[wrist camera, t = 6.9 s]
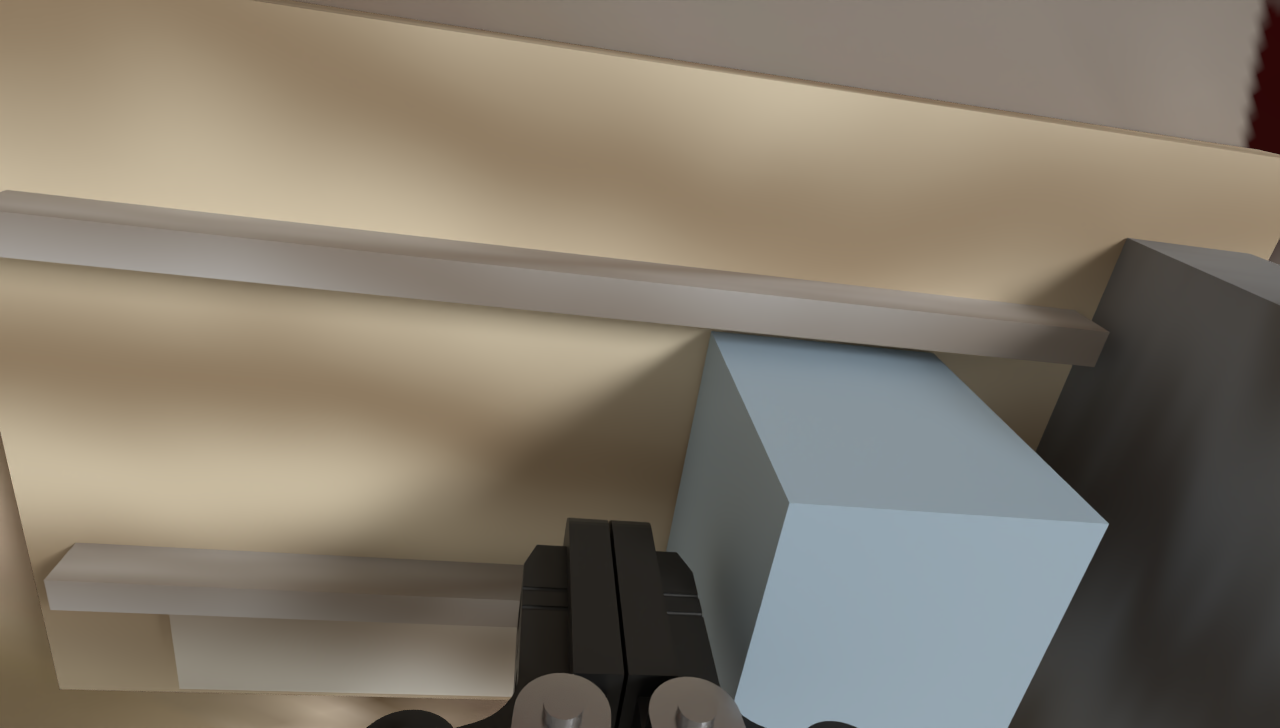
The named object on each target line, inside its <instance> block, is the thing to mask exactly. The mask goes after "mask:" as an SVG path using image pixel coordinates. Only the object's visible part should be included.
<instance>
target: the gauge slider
mask: <svg viewBox="0 0 1280 728" xmlns="http://www.w3.org/2000/svg"><path fill="white" fill-rule="evenodd" d="M1108 525H1109V523H1108V522H1107V521H1106V520H1105V519H1104V518H1102V517H1101V516H1100V515H1099V514H1098V513H1097V512H1096V511H1095V510H1094V509H1093V508H1092V507H1091V506H1090V505H1089V504H1088V503H1087V502H1086V501H1085V500H1084V499H1083V498H1082V497H1081V496H1080V495H1079V494H1078V493H1077V492H1076V491H1075V490H1074V489H1073V488H1072V487H1071V486H1070V485H1069V484H1067V483H1066V482H1065V481H1064V480H1063V479H1062V478H1061V477H1060V476H1059V475H1058V474H1057V473H1056V472H1055V471H1054V470H1053V469H1052V468H1051V467H1050V466H1049V465H1048V464H1047V463H1046V462H1045V461H1044V460H1043V459H1042V458H1041V457H1040V456H1039V455H1038V454H1037V453H1036V452H1035V451H1034V450H1032V449H1031V448H1030V447H1029V446H1028V445H1027V444H1026V443H1025V442H1024V441H1023V440H1022V439H1021V438H1020V437H1019V436H1018V435H1017V434H1016V433H1015V432H1014V431H1013V430H1012V429H1011V428H1010V427H1009V426H1008V425H1007V424H1006V423H1005V422H1004V421H1003V420H1002V419H1001V418H1000V417H999V416H997V415H996V414H995V413H994V412H993V411H992V410H991V409H990V408H989V407H988V406H987V405H986V404H985V403H984V402H983V401H982V400H981V399H980V398H979V397H978V396H977V395H976V394H975V393H974V392H973V391H972V390H971V389H970V388H969V387H968V386H967V385H966V384H965V383H964V382H963V381H961V380H960V379H959V378H958V377H957V376H956V375H955V374H954V373H953V372H952V371H951V370H950V369H949V368H948V367H947V366H946V365H945V364H944V363H943V362H942V361H941V360H940V359H939V358H938V357H937V356H936V355H935V354H934V353H926V352H916V351H906V350H896V349H886V348H876V347H866V346H856V345H846V344H836V343H826V342H816V341H806V340H796V339H786V338H776V337H766V336H756V335H746V334H736V333H726V332H716V331H711V334H710V339H709V344H708V349H707V354H706V359H705V364H704V369H703V373H702V378H701V383H700V388H699V393H698V398H697V403H696V408H695V413H694V417H693V422H692V427H691V432H690V437H689V442H688V447H687V452H686V456H685V461H684V466H683V471H682V476H681V481H680V486H679V491H678V496H677V500H676V505H675V510H674V515H673V520H672V525H671V530H670V535H669V539H668V544H667V549H666V552H677V553H678V554H679V555H680V557H681V558H682V559H683V561H684V562H685V563H686V564H687V566H688V567H689V568H690V569H691V571H692V572H693V575H694V579H695V584H696V588H697V592H698V599H699V600H700V605H701V609H702V617H704V621H705V625H706V630H707V634H708V638H709V642H710V646H711V650H712V655H713V659H714V663H715V667H716V671H717V675H718V680H719V683H720V686H721V688H722V689H723V690H724V691H726V692H727V693H728V694H729V695H730V696H731V697H732V699H733V700H734V701H735V703H736V704H737V706H738V708H739V710H740V712H741V714H742V715H743V716H744V717H746V718H747V719H749V720H750V721H752V722H754V723H756V724H758V725H760V726H763V727H765V728H808V727H810V726H811V725H813V724H815V723H818V722H823V721H838V722H843V723H847V724H850V725H852V726H855V727H857V728H1008V726H1009V724H1010V722H1011V720H1012V718H1013V716H1014V714H1015V712H1016V710H1017V708H1018V706H1019V704H1020V702H1021V700H1022V698H1023V696H1024V694H1025V692H1026V690H1027V688H1028V686H1029V684H1030V682H1031V680H1032V678H1033V676H1034V674H1035V672H1036V670H1037V668H1038V666H1039V664H1040V662H1041V660H1042V658H1043V656H1044V654H1045V652H1046V650H1047V648H1048V646H1049V644H1050V642H1051V640H1052V638H1053V636H1054V634H1055V632H1056V630H1057V628H1058V626H1059V624H1060V622H1061V620H1062V618H1063V616H1064V614H1065V612H1066V610H1067V608H1068V606H1069V604H1070V602H1071V600H1072V598H1073V596H1074V594H1075V591H1076V589H1077V587H1078V585H1079V583H1080V581H1081V579H1082V577H1083V575H1084V573H1085V571H1086V569H1087V567H1088V565H1089V563H1090V561H1091V559H1092V557H1093V555H1094V553H1095V551H1096V549H1097V547H1098V545H1099V543H1100V541H1101V539H1102V537H1103V535H1104V533H1105V531H1106V529H1107V527H1108Z"/></svg>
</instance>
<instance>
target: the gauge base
mask: <svg viewBox="0 0 1280 728" xmlns="http://www.w3.org/2000/svg"><path fill="white" fill-rule="evenodd" d="M1279 238H1280V155H1278V154H1274V153H1270V152H1265V151H1261V150H1256V149H1250V148H1243V147H1237V146H1230V145H1224V144H1217V143H1211V142H1204V141H1198V140H1191V139H1185V138H1178V137H1172V136H1165V135H1159V134H1152V133H1146V132H1139V131H1133V130H1126V129H1120V128H1113V127H1107V126H1101V125H1094V124H1088V123H1081V122H1075V121H1068V120H1062V119H1055V118H1049V117H1042V116H1036V115H1029V114H1023V113H1016V112H1010V111H1003V110H997V109H990V108H984V107H977V106H971V105H965V104H958V103H952V102H945V101H939V100H932V99H926V98H919V97H913V96H906V95H900V94H893V93H887V92H880V91H874V90H867V89H861V88H854V87H848V86H841V85H835V84H828V83H822V82H816V81H809V80H803V79H796V78H790V77H783V76H777V75H770V74H764V73H757V72H751V71H744V70H738V69H731V68H725V67H718V66H712V65H705V64H699V63H692V62H686V61H680V60H673V59H667V58H660V57H654V56H647V55H641V54H634V53H628V52H621V51H615V50H608V49H602V48H595V47H589V46H582V45H576V44H569V43H563V42H556V41H550V40H543V39H537V38H531V37H524V36H518V35H511V34H505V33H498V32H492V31H485V30H479V29H472V28H466V27H459V26H453V25H446V24H440V23H433V22H427V21H420V20H414V19H407V18H401V17H395V16H388V15H382V14H375V13H369V12H362V11H356V10H349V9H343V8H336V7H330V6H323V5H317V4H310V3H304V2H297V1H291V0H0V432H1V437H2V441H3V445H4V450H5V454H6V458H7V463H8V467H9V471H10V476H11V480H12V484H13V489H14V493H15V497H16V502H17V506H18V510H19V515H20V519H21V523H22V528H23V532H24V536H25V541H26V545H27V549H28V554H29V558H30V562H31V567H32V571H33V576H34V580H35V584H36V589H37V593H38V597H39V602H40V606H41V610H42V615H43V619H44V623H45V628H46V632H47V636H48V641H49V645H50V649H51V654H52V658H53V662H54V667H55V671H56V675H57V680H58V684H59V688H60V689H69V690H111V691H154V692H196V693H239V694H281V695H324V696H366V697H409V698H451V699H494V700H510V698H511V697H512V695H513V688H514V670H515V654H516V653H515V652H516V634H517V623H518V613H519V604H520V595H521V586H522V577H523V568H524V563H525V561H526V560H527V558H528V557H529V556H530V554H531V553H532V551H533V550H534V548H535V547H536V545H553V546H563V543H564V535H565V528H566V522H567V518H584V519H600V520H608V523H609V521H610V520H619V521H635V522H649V523H650V524H651V528H652V533H653V539H654V544H655V550H656V551H664V552H666V549H667V544H668V539H669V535H670V530H671V525H672V520H673V515H674V510H675V505H676V500H677V496H678V491H679V486H680V481H681V476H682V471H683V466H684V461H685V456H686V452H687V447H688V442H689V437H690V432H691V427H692V422H693V417H694V413H695V408H696V403H697V398H698V393H699V388H700V383H701V378H702V373H703V369H704V364H705V359H706V354H707V349H708V344H709V339H710V334H711V331H716V332H726V333H736V334H746V335H756V336H766V337H776V338H786V339H796V340H806V341H816V342H826V343H836V344H846V345H856V346H866V347H876V348H886V349H896V350H906V351H916V352H926V353H934V354H935V355H936V356H937V357H938V358H939V359H940V360H941V361H942V362H943V363H944V364H945V365H946V366H947V367H948V368H949V369H950V370H951V371H952V372H953V373H954V374H955V375H956V376H957V377H958V378H959V379H960V380H961V381H963V382H964V383H965V384H966V385H967V386H968V387H969V388H970V389H971V390H972V391H973V392H974V393H975V394H976V395H977V396H978V397H979V398H980V399H981V400H982V401H983V402H984V403H985V404H986V405H987V406H988V407H989V408H990V409H991V410H992V411H993V412H994V413H995V414H996V415H997V416H999V417H1000V418H1001V419H1002V420H1003V421H1004V422H1005V423H1006V424H1007V425H1008V426H1009V427H1010V428H1011V429H1012V430H1013V431H1014V432H1015V433H1016V434H1017V435H1018V436H1019V437H1020V438H1021V439H1022V440H1023V441H1024V442H1025V443H1026V444H1027V445H1028V446H1029V447H1030V448H1031V449H1032V450H1034V451H1035V452H1036V453H1037V454H1038V455H1039V456H1040V457H1041V458H1042V459H1043V460H1044V461H1045V462H1046V463H1047V464H1048V465H1049V466H1050V467H1051V468H1052V469H1053V470H1054V471H1055V472H1056V473H1057V474H1058V475H1059V476H1060V477H1061V478H1062V479H1063V480H1064V481H1065V482H1066V483H1067V484H1069V485H1070V486H1071V487H1072V488H1073V489H1074V490H1075V491H1076V492H1077V493H1078V494H1079V495H1080V496H1081V497H1082V498H1083V499H1084V500H1085V501H1086V502H1087V503H1088V504H1089V505H1090V506H1091V507H1092V508H1093V509H1094V510H1095V511H1096V512H1097V513H1098V514H1099V515H1100V516H1101V517H1102V518H1104V519H1105V520H1106V521H1107V522H1108V523H1109V525H1108V527H1107V529H1106V531H1105V533H1104V535H1103V537H1102V539H1101V541H1100V543H1099V545H1098V547H1097V549H1096V551H1095V553H1094V555H1093V557H1092V559H1091V561H1090V563H1089V565H1088V567H1087V569H1086V571H1085V573H1084V575H1083V577H1082V579H1081V581H1080V583H1079V585H1078V587H1077V589H1076V591H1075V594H1074V596H1073V598H1072V600H1071V602H1070V604H1069V606H1068V608H1067V610H1066V612H1065V614H1064V616H1063V618H1062V620H1061V622H1060V624H1059V626H1058V628H1057V630H1056V632H1055V634H1054V636H1053V638H1052V640H1051V642H1050V644H1049V646H1048V648H1047V650H1046V652H1045V654H1044V656H1043V658H1042V660H1041V662H1040V664H1039V666H1038V668H1037V670H1036V672H1035V674H1034V676H1033V678H1032V680H1031V682H1030V684H1029V686H1028V688H1027V690H1026V692H1025V694H1024V696H1023V698H1022V700H1021V702H1020V704H1019V706H1018V708H1017V710H1016V712H1015V714H1014V716H1013V718H1012V720H1011V722H1010V724H1009V726H1008V728H1280V265H1278V264H1275V263H1273V262H1270V261H1268V260H1269V258H1270V255H1271V254H1272V252H1273V250H1274V248H1275V246H1276V244H1277V242H1278V240H1279Z"/></svg>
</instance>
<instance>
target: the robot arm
mask: <svg viewBox="0 0 1280 728" xmlns="http://www.w3.org/2000/svg"><path fill="white" fill-rule="evenodd" d="M515 653H516V654H515V670H514V688H513V695H512V697H511V698H510V700H509V701H508V702H507V703H506V705H505V706H503V707H502V708H501V709H500V710H499V711H498V712H496V713H495V714H493V715H492V716H490V717H488V718H486V719H483V720H481V721H478V722H475V723H471V724H468V725H464V726H461V727H457V728H765V727H763V726H760V725H758V724H756V723H754V722H752V721H750V720H749V719H747V718H746V717H744V716H743V715H742V714H741V712H740V710H739V708H738V706H737V704H736V703H735V701H734V700H733V699H732V697H731V696H730V695H729V694H728V693H727V692H726V691H724V690H723V689H722V688H721V686H720V683H719V680H718V675H717V671H716V667H715V663H714V659H713V655H712V650H711V646H710V642H709V638H708V634H707V630H706V625H705V621H704V617H702V609H701V605H700V600H699V599H698V592H697V588H696V584H695V579H694V575H693V572H692V571H691V569H690V568H689V567H688V566H687V564H686V563H685V562H684V561H683V559H682V558H681V557H680V555H679V554H678V553H677V552H664V551H656V550H655V544H654V539H653V533H652V528H651V524H650V523H649V522H635V521H619V520H610V521H609V523H608V520H600V519H584V518H567V522H566V528H565V535H564V543H563V546H553V545H536V547H535V548H534V550H533V551H532V553H531V554H530V556H529V557H528V558H527V560H526V561H525V563H524V568H523V577H522V586H521V595H520V604H519V613H518V623H517V634H516V652H515ZM367 728H453V727H452V725H451V724H450V723H448V722H447V721H446V720H445V719H443V718H442V717H440V716H439V715H436V714H434V713H431V712H427V711H422V710H403V711H399V712H394V713H391V714H389V715H386V716H384V717H382V718H380V719H378V720H376V721H375V722H374V723H372V724H371V725H369V726H368V727H367ZM808 728H857V727H855V726H852V725H850V724H847V723H843V722H838V721H823V722H818V723H815V724H813V725H811V726H810V727H808Z"/></svg>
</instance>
